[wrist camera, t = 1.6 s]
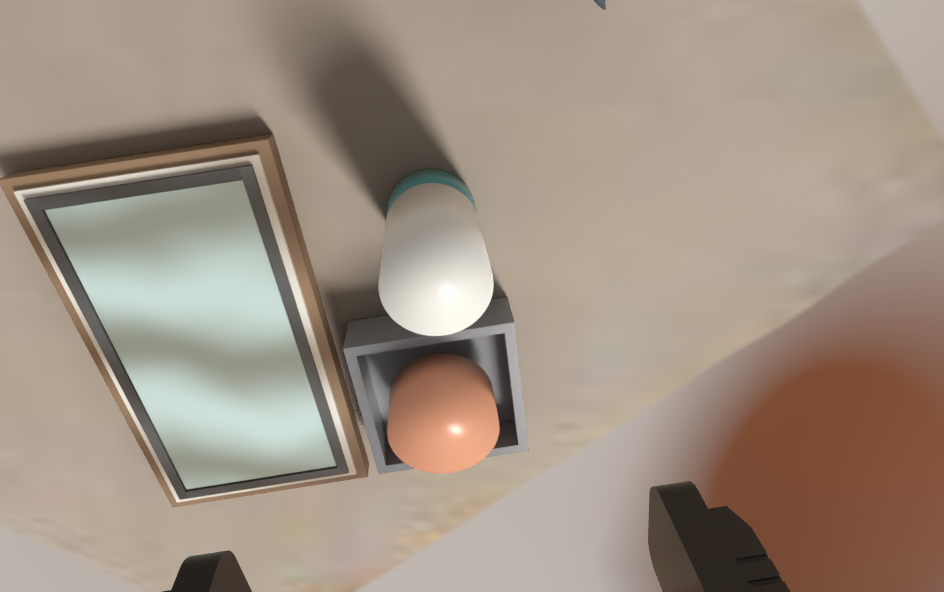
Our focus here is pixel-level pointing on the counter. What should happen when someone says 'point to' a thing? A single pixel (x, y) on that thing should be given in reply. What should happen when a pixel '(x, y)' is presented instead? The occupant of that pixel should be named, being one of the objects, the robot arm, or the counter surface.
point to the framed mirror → (199, 314)
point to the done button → (442, 414)
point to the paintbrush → (601, 3)
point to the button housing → (393, 347)
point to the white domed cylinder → (434, 256)
